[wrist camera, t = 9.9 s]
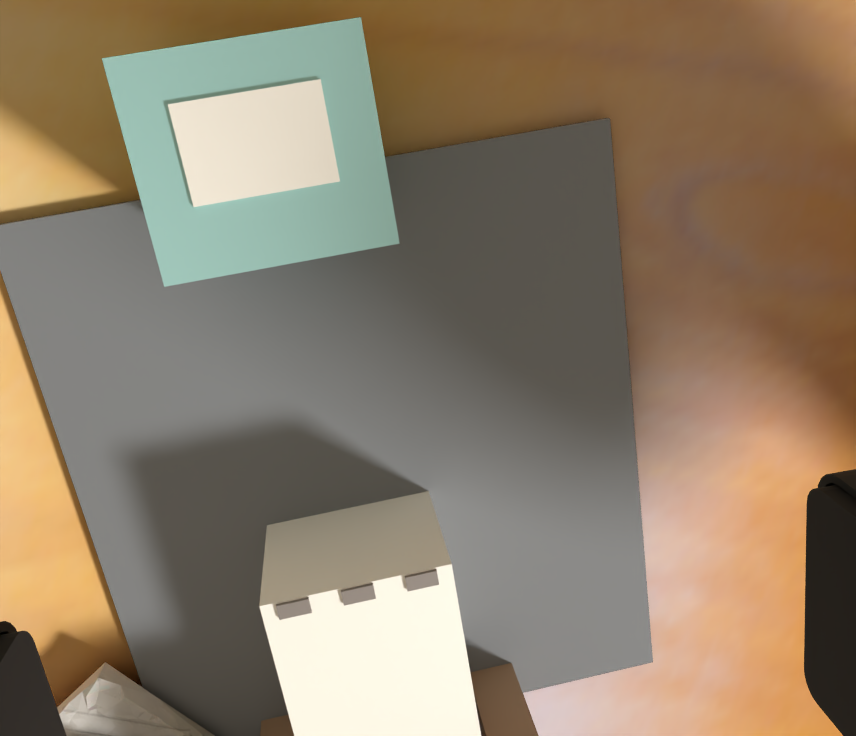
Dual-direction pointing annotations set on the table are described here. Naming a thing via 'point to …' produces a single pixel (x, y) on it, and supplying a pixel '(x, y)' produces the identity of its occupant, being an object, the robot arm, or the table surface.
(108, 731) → the packaged product
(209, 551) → the mat
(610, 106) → the table surface
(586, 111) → the table surface
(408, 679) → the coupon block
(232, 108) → the teal cube
